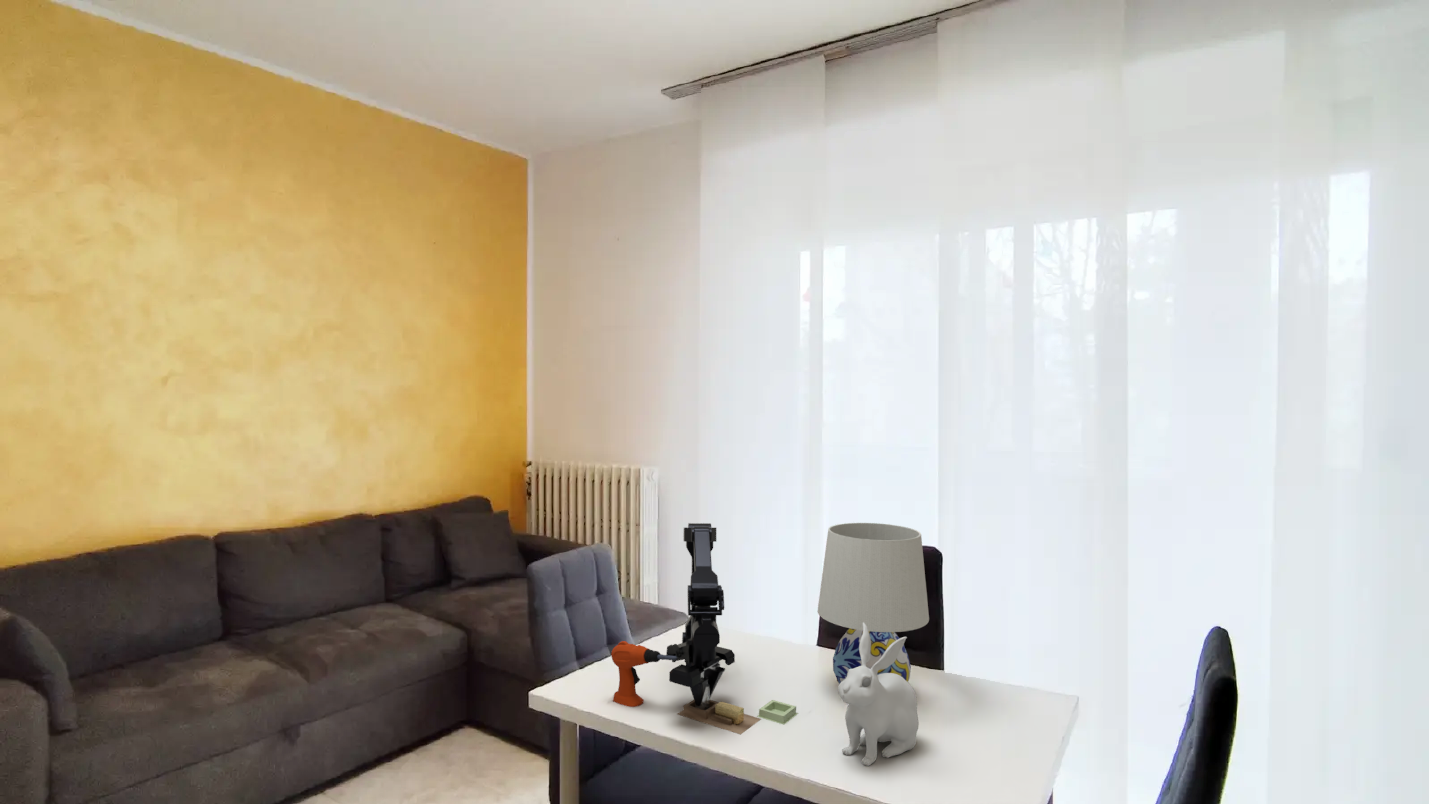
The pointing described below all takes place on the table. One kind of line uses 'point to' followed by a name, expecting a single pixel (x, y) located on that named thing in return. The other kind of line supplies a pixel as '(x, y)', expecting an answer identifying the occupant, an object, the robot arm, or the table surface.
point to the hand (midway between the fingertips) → (702, 702)
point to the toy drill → (632, 670)
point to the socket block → (717, 718)
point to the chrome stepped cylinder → (705, 698)
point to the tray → (777, 712)
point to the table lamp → (873, 591)
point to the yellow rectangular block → (730, 712)
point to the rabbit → (879, 704)
